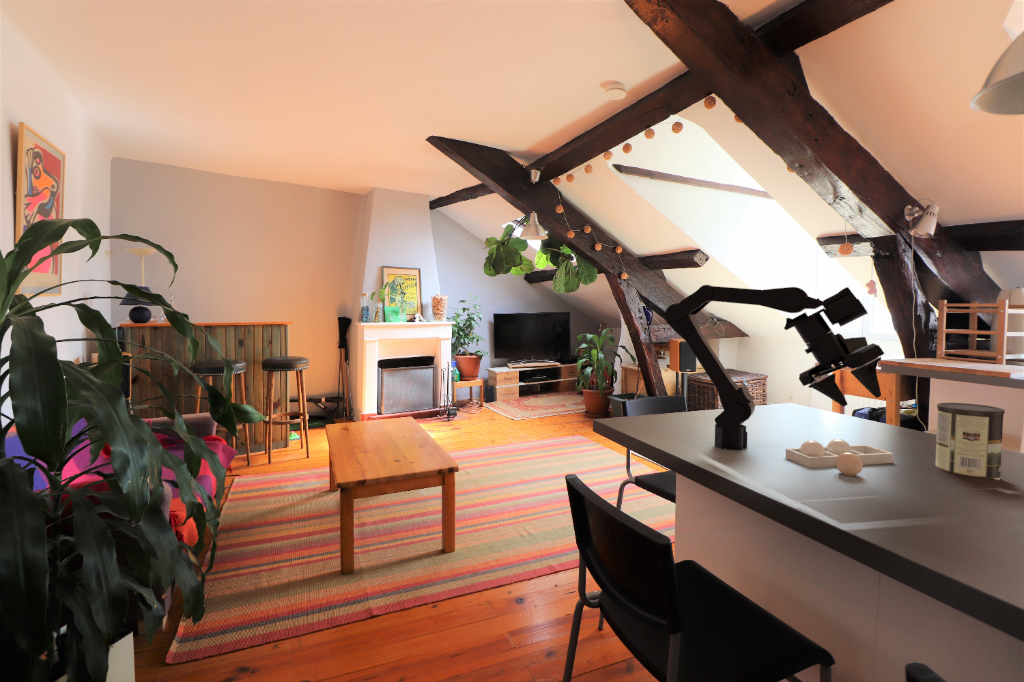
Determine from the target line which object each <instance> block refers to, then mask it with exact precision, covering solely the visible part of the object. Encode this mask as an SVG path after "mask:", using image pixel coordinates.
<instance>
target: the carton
mask: <svg viewBox="0 0 1024 682" xmlns="http://www.w3.org/2000/svg"><path fill="white" fill-rule="evenodd" d="M850 446H851V450H852V452H851V453H854V454H856V455H857V456H858V457H859V458H860V459H861V460H862V463H863V466H864V465H879V464H880V465H881V464H893V463H894V457H895V453H893V452H890V451H888V450H883V449H880V448H877V447H873V446H870V445H866V444H859V445H857V444H856V445H854V444H853V445H850ZM823 447H824V450H825V454H824V456H818V457H809V456H807V455H804V454H801V453H800V447H795V448H785V459H787V460H789V461H792V462H795V463H797V464H800V465H801V466H804V467H808V468H823V467H824V468H825V467H836V465H835V460H836V458H837V456H838V455H835V454H832V453H829V452H827V446H823Z"/></svg>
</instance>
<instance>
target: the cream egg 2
mask: <svg viewBox="0 0 1024 682" xmlns="http://www.w3.org/2000/svg"><path fill="white" fill-rule="evenodd" d="M851 446H852V445H851V444H850V443H848V441H846V440H843V439H842V438H835V439H834V438H833V439H832V440H830V441H829V442H828V443H827V445H826V447H827V452H829V453H832V454H835V455H840V454H841V453H844V452H850V453H851V452H852V450H851Z"/></svg>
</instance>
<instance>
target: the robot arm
mask: <svg viewBox="0 0 1024 682" xmlns="http://www.w3.org/2000/svg"><path fill="white" fill-rule="evenodd" d="M711 302H719V303H721V302H722V303H728V304H729V303H731V304H740V305H741V304H742V305H751V306H752V305H753V306H761V307H766V308H769V309H774V310H777V311H780V312H785V313H788V314H797V313H800V312H803V311H804V310H807V309H808V310H816V309H818V308H820V307H823V308H821V309H819V310H818V311H816V312H814V313H812V314H810V315H808V314H807V313H806V312H803V313H802V314H799V315H797V316H795V317H794V318H791V317H786V318H785V319H786V322H785V326H784V327H783V329H784V330H785V331H787V330H790V329H792V328H794V329H795V330H796V331H797V333H798V335H799V336H800V338H801V339H802V341H803V342H804V343H805V346H806V347H807V348H806V349H804V352H805V353H806V355H808V354H810V353H811V354H812V356H813V357H814V358H815V360H816V362H817V363H818V364H817V365H816V364H815V365H814V366H812V367H810V368H808V369H806V370H804V371H802V372H800V374H798V376H799V377H798V380H799V382H800V383H801V385H802V386H803V387H805V386H807V385H808V386H807V387H808V388H809V389H810V388H811V389H814V390H815V391H817V392H819V393H820V394H822V395H824V396H826V397H827V398H830V399H831V400H832V401H834V402H835V403H837V404H839V405H840V406H842V407H846V406H848V402H847V399H846V397H845V396H844V394H843V393H842V391H841V389H840V388H839V386H838V384H837V382H836V373H835V372H837V371H839V370H841V369H844V368H850V369H851V370H850V374H851V375H852V376H854V377H855V379H856V380H857V381H858V382H860V384H862V386H863V387H864V388H865V389H867V391H868V392H869V393H871V395H873V397H874V398H880V397H881V396H882V393H881V392H882V391H881V387H880V383H879V378H878V374H877V367H878V365H879V364H878V363H879V362H880V361H881V360H882V357H881V356H883V355H885V352H884V351H883V349H882V348H881V346H880V345H878V344H876V343H871V344H868V341H867V339H866V336H861V337H860V336H858V337H847V338H845V337H844V336H843V334H840V333H836V334H835V333H834V331H833V330H832V329H831V327H830V326H829V324H828V322H827V321H826V320H825V319H824V317H823V315H822V314H821V313H824V315H825V317H826V318H827V319H828V321H829V323H830V324H831V325H832V326H834V325H837V324H838V325H839V326H840V327H843V326H846V325H847V324H849V323H851V322H853V321H856V320H857V319H859V318H862V317H863V316H866V315H867V314H869V313H868V311H867V310H866V308H865V306H864V305H863V303H862V302H861V300H859V298H857V297H856V295H854V293H853V292H852V290H851V289H850V288H849V286H846V287H845V288H843V289H841V290H840V291H838V292H837V293H835V294H833V295H831V296H830V297H827V298H825V299H823V300H820V298H819V297H818V298H814V297H812V296H809V295H808V293H807V292H806V291H805V290H804V289H802V288H800V287H795V286H789V287H778V288H767V289H754V288H742V287H730V286H729V287H728V286H727V287H725V286H715V285H714V286H713V285H711V284H710V285H709V284H703V285H702V286H700V287H699V288H698V289H696V290H695V291H693V293H691V294H690V295H688V296H686V297H685V298H683V299H682V300H680V302H678V303H673V304H670V305H669V306H667V308H666V310H665V312H664V315H663V316H664V321H665V322H666V324H667V325H668V326H669V327H670V328H671V329H672V330H673V331H674V332H675V333H676V334H677V335H678V336H680V337H681V338H682V339H683V340H684V341H685V342H686V344H687V346H688V347H689V348H690V349H691V351H692V354H693V355H694V356H695V358H696V360H697V361H698V363H699V364H700V366H701V367H702V369H703V370H704V372H705V374H706V375H707V376H708V378H709V380H710V381H711V383H712V384H713V385H714V388H716V390H717V393H718V398H719V402H720V404H721V406H722V410H723V411H722V412H720V413H719V414H718V415H717V416H716V417H715V418H714V422H715V424H714V447H716V448H718V449H721V450H729V451H730V450H731V451H741V450H743V449H746V448H748V431H747V426H746V425H744V423H745V422H747V421H748V420H749V419H750V418H751V417H752V415H753V414H754V413H755V409H756V404H755V401H754V400H755V397H754V395H752V394H751V393H750V391H749V389H748V387H747V385H746V384H745V383H744V384H742V385H741V386H739V385H738V384H737V383H736V382H735V381H734V380H733V378H732V377H731V376H730V374H729V373H728V371H727V370H726V369H725V367H724V365H723V364H722V362H721V361H720V359H719V357H718V356H717V354H716V353H715V351H714V350H713V348H712V347H711V345H710V344H709V342H708V341H707V339H706V338H705V335H703V334H702V331H701V328H700V323H699V321H698V318H697V317H696V315H697V314H698V313H700V312H701V311H702V310H703V309H704V308H705V307H707V306H708V305H709V304H710V303H711ZM831 373H832V374H831Z"/></svg>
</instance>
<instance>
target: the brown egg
mask: <svg viewBox="0 0 1024 682" xmlns="http://www.w3.org/2000/svg"><path fill="white" fill-rule="evenodd" d="M835 465H836V466H835V467H836V470H837V471H839V473H841V474H842V475H845V476H850V477H854V476H856V475H859V474H860V473H861V472H862V471H863V468H864V465H863V463H862V460H861V459H860V458H859V457H858V456H857V455H856V454H854V453H850V452H844V453H841V454H840V455H838V456H837V458H836V460H835Z"/></svg>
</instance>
